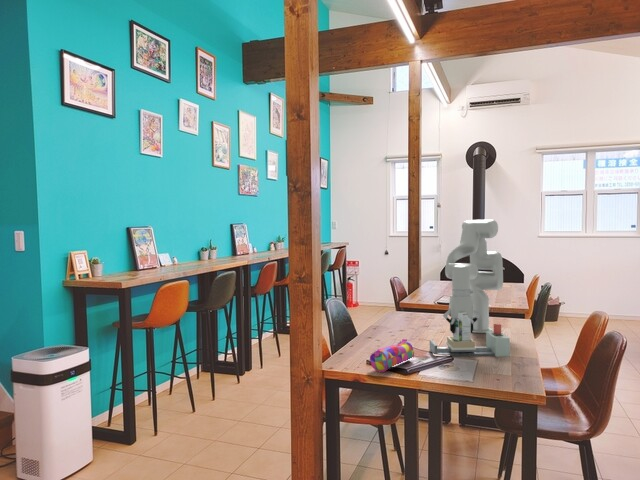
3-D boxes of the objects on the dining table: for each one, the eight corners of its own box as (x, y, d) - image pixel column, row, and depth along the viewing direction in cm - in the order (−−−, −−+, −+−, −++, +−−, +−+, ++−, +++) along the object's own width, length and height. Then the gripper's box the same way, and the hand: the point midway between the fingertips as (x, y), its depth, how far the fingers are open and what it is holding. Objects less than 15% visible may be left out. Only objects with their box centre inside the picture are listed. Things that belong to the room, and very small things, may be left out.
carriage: (446, 347, 207) (446, 336, 207) (469, 347, 207) (469, 336, 207) (452, 353, 198) (451, 342, 197) (476, 353, 197) (475, 341, 197)
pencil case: (396, 357, 198) (396, 337, 198) (416, 361, 192) (415, 340, 192) (368, 371, 182) (367, 348, 181) (388, 375, 176) (388, 352, 175)
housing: (486, 348, 208) (486, 331, 208) (499, 348, 208) (499, 331, 208) (495, 356, 196) (495, 338, 196) (509, 356, 196) (509, 337, 196)
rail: (429, 350, 208) (429, 339, 207) (486, 349, 207) (486, 338, 207) (434, 356, 198) (434, 345, 197) (494, 355, 197) (494, 344, 197)
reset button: (492, 339, 203) (492, 323, 203) (499, 339, 203) (499, 323, 203) (495, 341, 200) (495, 325, 200) (502, 341, 200) (502, 325, 200)
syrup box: (452, 342, 204) (451, 310, 203) (463, 340, 206) (462, 309, 205) (460, 345, 199) (459, 312, 198) (471, 343, 201) (471, 311, 200)
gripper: (478, 291, 205) (478, 330, 206) (439, 292, 205) (440, 330, 206) (483, 293, 197) (484, 334, 198) (443, 294, 198) (444, 335, 199)
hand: (461, 332), depth 202 cm, fingers closed on syrup box, 7 cm apart
